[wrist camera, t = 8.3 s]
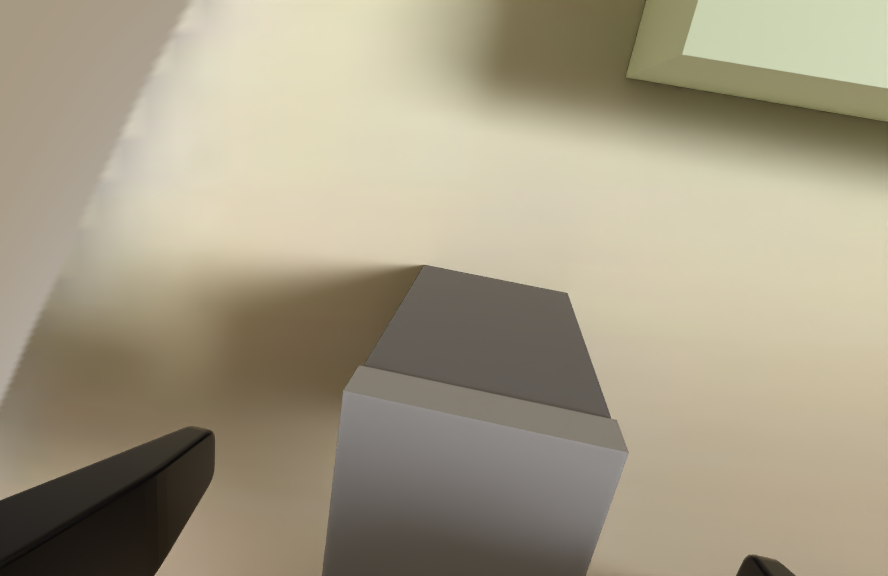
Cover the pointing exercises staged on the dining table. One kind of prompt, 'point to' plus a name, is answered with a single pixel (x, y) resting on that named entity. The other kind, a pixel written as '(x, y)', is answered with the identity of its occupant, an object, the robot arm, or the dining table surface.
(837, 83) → the socket block
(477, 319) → the plug
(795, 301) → the dining table surface
